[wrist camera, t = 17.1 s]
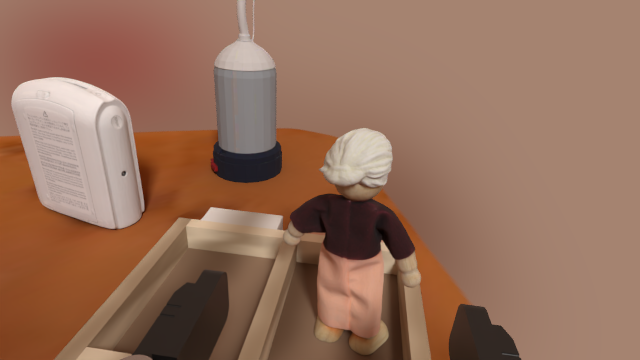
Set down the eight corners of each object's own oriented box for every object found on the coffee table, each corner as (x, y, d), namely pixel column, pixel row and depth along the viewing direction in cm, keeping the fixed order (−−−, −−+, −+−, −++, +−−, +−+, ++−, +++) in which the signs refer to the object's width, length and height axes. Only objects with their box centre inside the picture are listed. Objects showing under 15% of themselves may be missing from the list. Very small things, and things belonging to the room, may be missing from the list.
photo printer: (154, 213, 36) (133, 83, 31) (117, 236, 33) (86, 93, 27) (75, 189, 40) (43, 67, 34) (34, 208, 36) (-9, 75, 30)
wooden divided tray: (62, 417, 19) (44, 370, 18) (196, 236, 33) (193, 202, 32) (427, 482, 17) (442, 437, 16) (404, 263, 32) (411, 227, 30)
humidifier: (198, 170, 45) (175, -82, 34) (244, 150, 52) (236, -68, 41) (253, 189, 42) (246, -85, 31) (294, 164, 48) (300, -69, 37)
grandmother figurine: (405, 316, 24) (444, 127, 19) (404, 368, 21) (450, 156, 15) (289, 293, 26) (292, 110, 20) (270, 339, 22) (268, 133, 17)
